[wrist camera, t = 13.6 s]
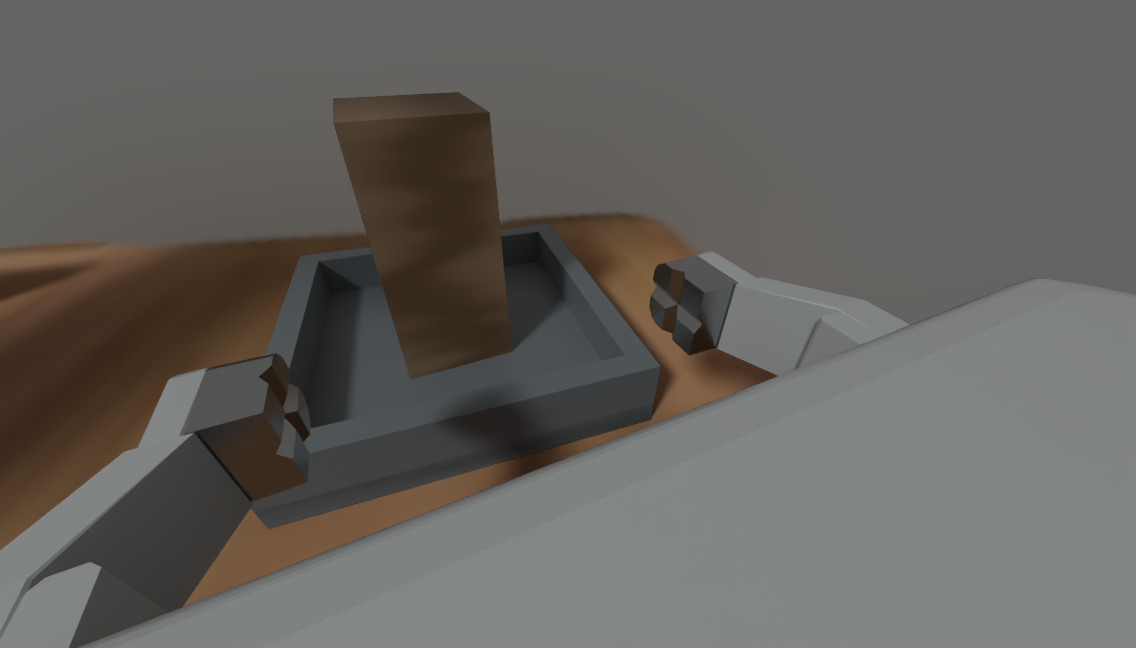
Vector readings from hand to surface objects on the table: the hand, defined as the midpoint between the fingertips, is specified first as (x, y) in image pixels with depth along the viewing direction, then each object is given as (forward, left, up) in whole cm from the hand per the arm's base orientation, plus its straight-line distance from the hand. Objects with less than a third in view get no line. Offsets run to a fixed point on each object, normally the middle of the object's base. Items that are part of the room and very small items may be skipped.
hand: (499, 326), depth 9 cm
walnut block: (-1, +9, -7) cm, 12 cm away
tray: (-1, +9, -8) cm, 12 cm away
